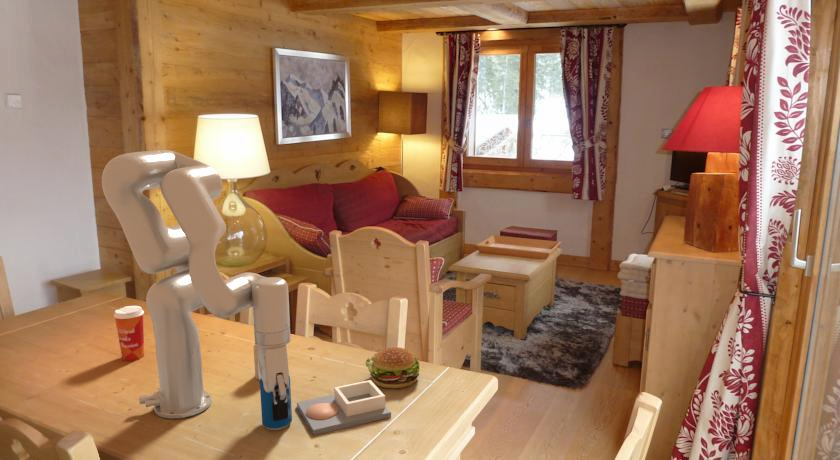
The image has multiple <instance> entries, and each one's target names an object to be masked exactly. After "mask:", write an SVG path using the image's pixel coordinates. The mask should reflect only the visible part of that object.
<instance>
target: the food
mask: <svg viewBox="0 0 840 460" xmlns="http://www.w3.org/2000/svg"><path fill="white" fill-rule="evenodd" d="M415 356H416V355H415V354H414V353H413V352H412V351H410V350H409V349H407V348H403V347H398V346H393V347H385V348H383V349H380V350H378V351H377V352H376V353H375V354H373V356H371V357H370V358H371V359H370V358H369V357H367V359H366V360H365V367H367V368H368V372H369V375H370V377H371V381H372V382H373V383H374V384H375V385H376V386H377V387H382V388H386V389H401V388H405V387H409V386H411V385H413V384H414V383H416V380H417V378H418V377H419V376H420V362H419V361H418V360H419V359H418V358H416V357H415Z"/></svg>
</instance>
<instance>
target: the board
mask: <svg viewBox="0 0 840 460" xmlns="http://www.w3.org/2000/svg"><path fill="white" fill-rule="evenodd" d="M333 391H334V393H333V394H330V395H325V396H320V397H314V398H311V399H306V400H301V401H297V402H296V408H297V409H298V411H299V413H300V414H301V416H302V418H303V420H304V421H305V423H306V424H307V427H308V428H309V430H310V431H311V433H312V434H313V436H317V435H320V434H325V433H329V432H334V431H338V430H341V429H347V428H350V427H354V426H359V425H364V424H366V423H371V422H376V421H379V420H384V419H388V418H391V417H392V412H391V410H390V409H389V408H388V407H387V406H386V395H385V394H384V393H383V392H382V391H381V390H380V388H379V386H378V385H376V384H375V383H374V382H373V381H372V379H370V380H369V379H368V380H363V381H360V382H355V383H350V384H349V383H348V384H344V385H340V386H339V385H338V386H334V387H333Z"/></svg>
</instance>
